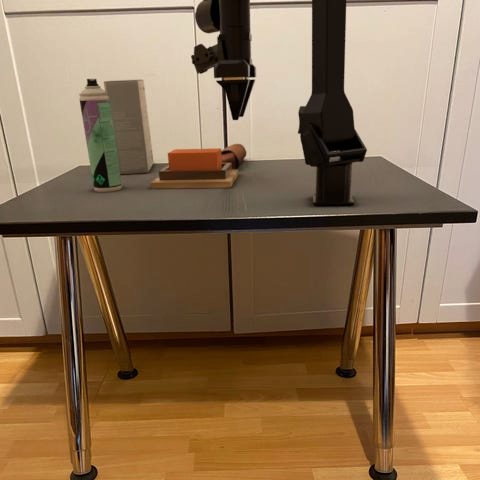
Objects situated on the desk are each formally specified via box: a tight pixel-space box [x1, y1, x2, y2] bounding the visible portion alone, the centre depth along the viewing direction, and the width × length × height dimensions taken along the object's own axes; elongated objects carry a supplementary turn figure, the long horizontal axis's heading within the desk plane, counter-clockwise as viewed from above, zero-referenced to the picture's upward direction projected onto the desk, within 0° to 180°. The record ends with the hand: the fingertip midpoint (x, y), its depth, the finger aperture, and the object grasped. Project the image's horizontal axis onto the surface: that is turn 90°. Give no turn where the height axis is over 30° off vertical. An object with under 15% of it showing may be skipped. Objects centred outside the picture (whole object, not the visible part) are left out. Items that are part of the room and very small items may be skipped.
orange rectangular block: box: [167, 147, 222, 170], centre depth 100 cm, size 6×10×5 cm, turn 83°
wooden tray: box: [150, 163, 240, 190], centre depth 101 cm, size 14×16×3 cm
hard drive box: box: [103, 78, 154, 175], centre depth 115 cm, size 16×8×20 cm, turn 5°
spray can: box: [78, 78, 123, 193], centre depth 93 cm, size 6×6×20 cm
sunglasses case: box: [221, 143, 247, 170], centre depth 120 cm, size 18×7×7 cm
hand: (238, 118), depth 97 cm, fingers open, 9 cm apart
